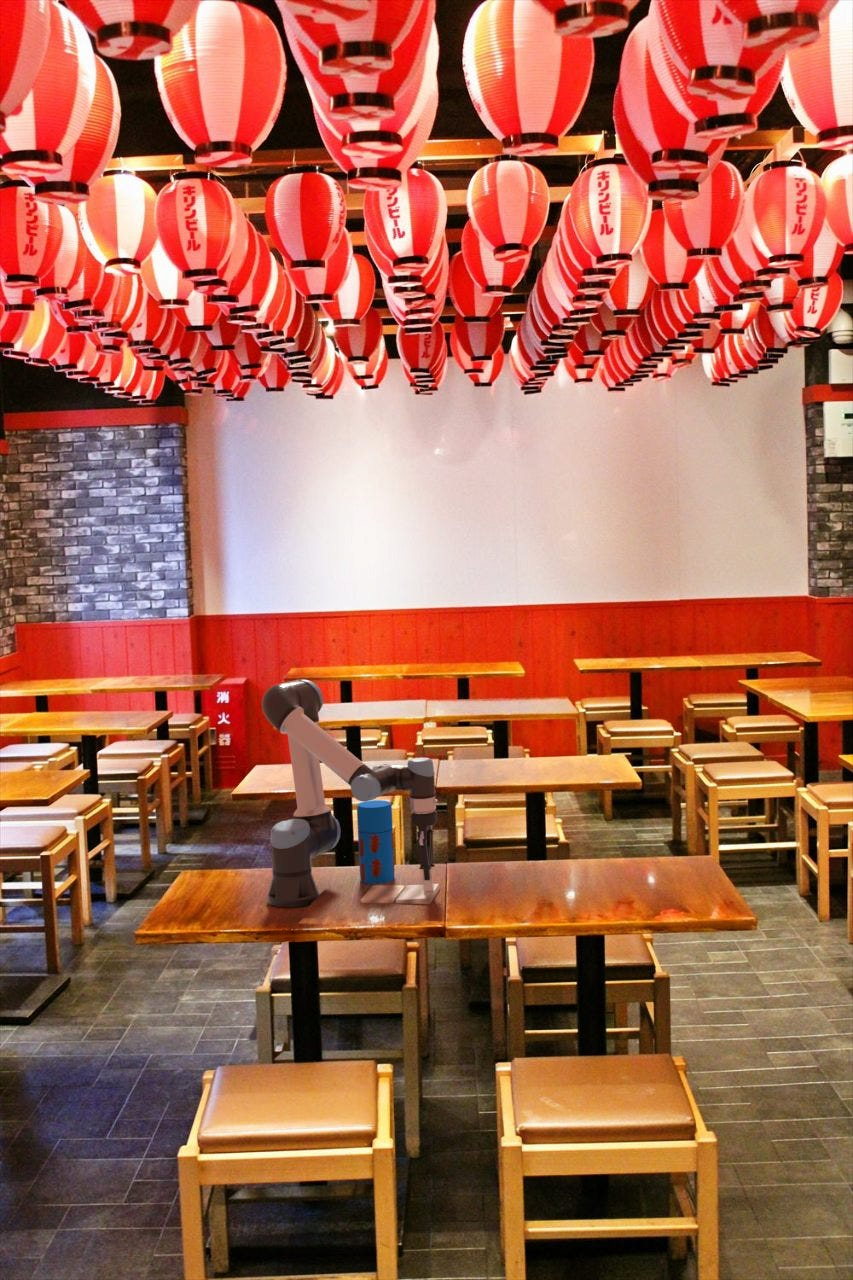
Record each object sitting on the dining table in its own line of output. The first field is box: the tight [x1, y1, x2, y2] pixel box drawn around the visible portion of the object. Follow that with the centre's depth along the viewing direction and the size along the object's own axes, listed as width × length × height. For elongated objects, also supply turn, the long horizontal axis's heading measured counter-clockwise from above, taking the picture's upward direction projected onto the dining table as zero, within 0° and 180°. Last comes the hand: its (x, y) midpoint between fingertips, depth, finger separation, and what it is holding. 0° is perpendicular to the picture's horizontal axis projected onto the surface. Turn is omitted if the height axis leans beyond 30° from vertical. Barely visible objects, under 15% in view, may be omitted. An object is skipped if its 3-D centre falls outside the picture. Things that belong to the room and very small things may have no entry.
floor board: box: [360, 884, 406, 904], centre depth 353 cm, size 21×16×2 cm
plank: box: [395, 883, 441, 905], centre depth 351 cm, size 10×15×2 cm, turn 168°
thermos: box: [356, 799, 395, 885], centre depth 371 cm, size 11×11×25 cm
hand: (428, 889), depth 351 cm, fingers closed
